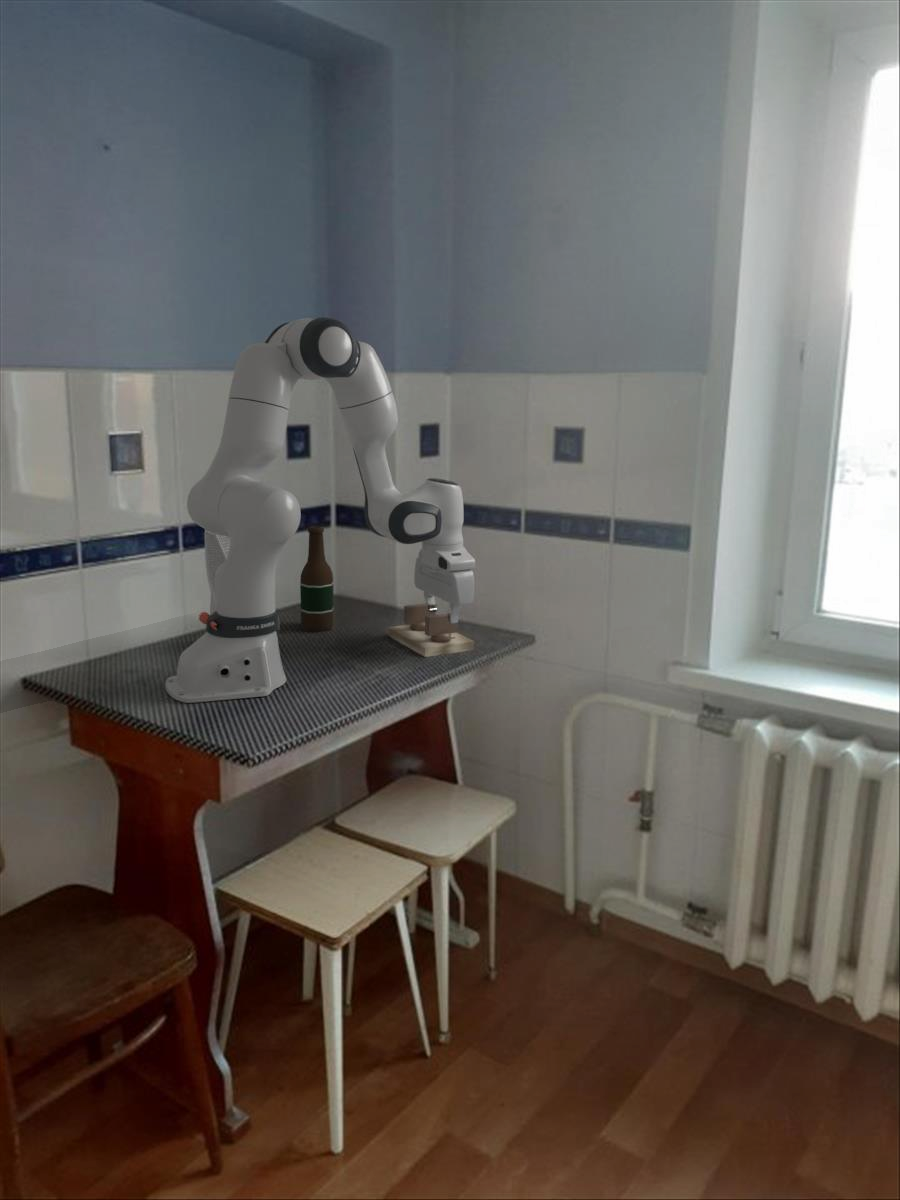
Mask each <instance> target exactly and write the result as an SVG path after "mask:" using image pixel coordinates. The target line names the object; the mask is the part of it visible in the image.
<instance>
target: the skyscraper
mask: <svg viewBox="0 0 900 1200" xmlns="http://www.w3.org/2000/svg"><path fill="white" fill-rule="evenodd" d="M229 548H230V537H228V536H223V535H218V534H214V533H211V532H209V531H207V530H206V529H204V556H205V568H206V576H207V581H208V586H209V589H210V601H209V606H210V607H209V615H210V616H211V615H212V614H213V613H214V612H215V611H216V590H215V573H216V570H217V568H218V567H219V566H220V565H221V564H222V563H224V562H225V561H226V559H227V556H228V553H229Z"/></svg>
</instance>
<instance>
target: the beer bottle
mask: <svg viewBox="0 0 900 1200" xmlns="http://www.w3.org/2000/svg"><path fill="white" fill-rule="evenodd" d="M324 531H325V530H324V527H323V526H322V525H311V526H309V527H308V530H307V532H308V533H309V534H308V551H307V553H308V554H307V555H308V556H307V561H306V562H305V564H304V566H303V568H302V571H301V573H300V584H299V585H300V586H299V588H300V589H299V590H300V621H301V623H300V624H301V629H302V630H303V631H305V632H306V631H307V632H309V633H324V632H328V631H332V629H333V626H334V625H335V624H334V621H335V619H334V618H335V617H334V616H335V615H334V614H335V611H334V610H335V608H334V606H335V605H334V577H333V576H334V573H333V571H332V568H331V566H330V565H329V563H328V561H327V560H326V555H325V544H324V543H325V542H324Z"/></svg>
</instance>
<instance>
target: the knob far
mask: <svg viewBox="0 0 900 1200" xmlns="http://www.w3.org/2000/svg"><path fill="white" fill-rule="evenodd" d="M435 604H437V603H436V602H435ZM403 607H404V609H403V611H404V613H403V617H404V618H403V623H404V624H405V625H410V629H412V630H416V631H424V630H425V616H432V615H436V612H433V613H431V612H428V611H427V604H426V602H425V603H417V604H409V605H404V606H403Z"/></svg>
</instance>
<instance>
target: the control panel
mask: <svg viewBox="0 0 900 1200" xmlns="http://www.w3.org/2000/svg"><path fill="white" fill-rule="evenodd" d="M387 636H388V637H390V638H391V639H392V640H395V641H397V642H398V643H400V644H401V645H403V646H405V647H407V648H409V649H410V650H412V651H414V652H415V653H417V654H419V655H420V656H423V657H424V658H427V657H428V658H429V657H435V656H436V657H437V656H443V655H449V654H456V653H463V652H469V651H474V649H475V647H474V646H475V641H474V640H473V639H470V638H469V637H466V636H464V635H462V633H461V634H460V633H459V632H458V631H457V632H456V633H451V640H450V641H448V642H434V641H432V640H431V636H427V635H426V634H425V630H424V631H416V630H412V629H410V625H407V624H405V625H395V626H389V627H387Z"/></svg>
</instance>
